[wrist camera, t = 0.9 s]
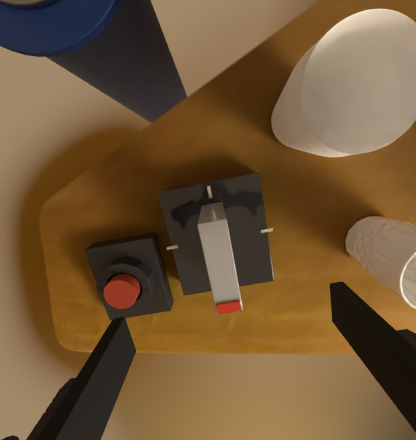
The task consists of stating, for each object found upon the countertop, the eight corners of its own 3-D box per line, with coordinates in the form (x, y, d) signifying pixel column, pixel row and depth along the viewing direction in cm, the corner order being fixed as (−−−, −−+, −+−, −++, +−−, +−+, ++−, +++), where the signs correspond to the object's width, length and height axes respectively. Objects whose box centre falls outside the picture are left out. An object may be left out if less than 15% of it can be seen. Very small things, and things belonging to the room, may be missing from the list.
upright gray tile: (201, 205, 26) (196, 224, 18) (222, 201, 26) (226, 219, 18) (215, 273, 29) (216, 316, 21) (234, 270, 28) (243, 312, 20)
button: (105, 275, 28) (98, 283, 27) (135, 270, 28) (131, 277, 26) (115, 302, 29) (109, 311, 28) (144, 297, 29) (140, 306, 27)
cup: (299, 57, 25) (375, -33, 13) (353, 113, 26) (465, 75, 15) (245, 124, 27) (270, 97, 15) (298, 173, 28) (358, 182, 17)
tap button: (93, 243, 31) (76, 255, 27) (155, 232, 30) (146, 242, 27) (116, 310, 34) (103, 329, 30) (173, 301, 33) (168, 319, 29)
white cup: (389, 200, 29) (479, 220, 19) (406, 250, 31) (497, 292, 21) (331, 228, 30) (388, 260, 20) (351, 275, 32) (412, 325, 22)
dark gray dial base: (158, 190, 29) (152, 193, 26) (259, 170, 28) (265, 171, 25) (182, 284, 32) (179, 297, 29) (272, 269, 32) (279, 280, 29)
